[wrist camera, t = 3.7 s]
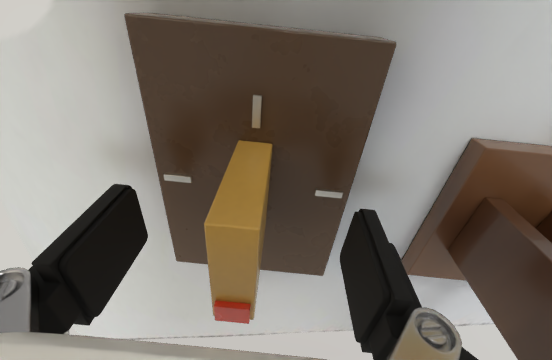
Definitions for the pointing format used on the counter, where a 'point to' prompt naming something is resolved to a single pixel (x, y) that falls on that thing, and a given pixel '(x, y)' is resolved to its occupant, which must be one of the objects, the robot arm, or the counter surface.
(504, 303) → the handle bracket
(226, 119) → the plate
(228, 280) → the lock knob
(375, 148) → the counter surface
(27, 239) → the counter surface
